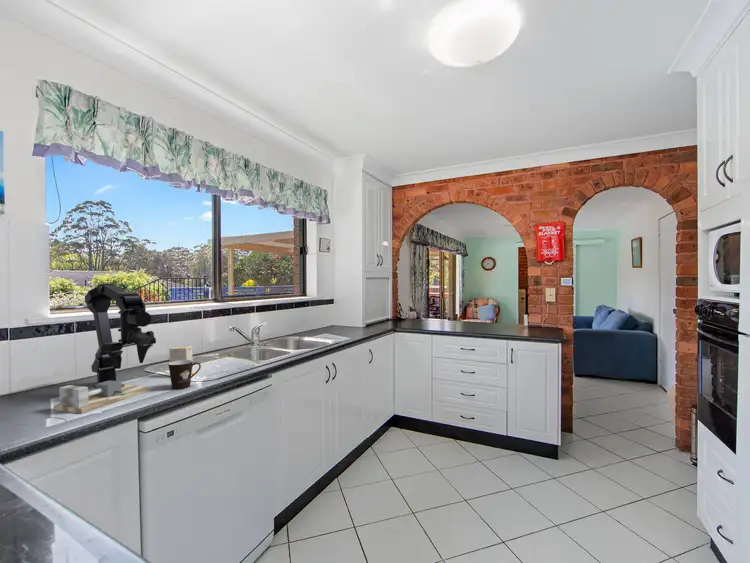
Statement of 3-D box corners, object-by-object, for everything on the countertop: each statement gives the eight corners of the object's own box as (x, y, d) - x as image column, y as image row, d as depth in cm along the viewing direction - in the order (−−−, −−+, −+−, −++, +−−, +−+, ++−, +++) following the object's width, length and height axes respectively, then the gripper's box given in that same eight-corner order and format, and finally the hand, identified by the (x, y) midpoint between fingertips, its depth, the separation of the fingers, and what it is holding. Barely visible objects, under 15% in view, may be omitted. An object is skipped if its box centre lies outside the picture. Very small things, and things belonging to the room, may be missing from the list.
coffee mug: (168, 391, 142) (167, 365, 142) (169, 386, 150) (168, 361, 150) (202, 387, 147) (201, 362, 147) (201, 382, 155) (200, 358, 155)
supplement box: (193, 374, 167) (192, 346, 167) (187, 377, 163) (186, 348, 163) (176, 374, 168) (175, 346, 168) (169, 377, 163) (168, 348, 163)
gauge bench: (53, 410, 124) (53, 387, 124) (124, 388, 148) (124, 369, 148) (81, 413, 120) (81, 390, 120) (149, 390, 144) (149, 371, 144)
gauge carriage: (78, 400, 128) (77, 388, 128) (109, 391, 138) (109, 380, 138) (97, 402, 125) (97, 390, 125) (128, 392, 135) (127, 382, 135)
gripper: (122, 329, 132) (123, 373, 132) (166, 323, 150) (167, 361, 150) (99, 328, 135) (100, 371, 135) (145, 322, 153) (145, 360, 153)
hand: (130, 365), depth 143 cm, fingers open, 9 cm apart
